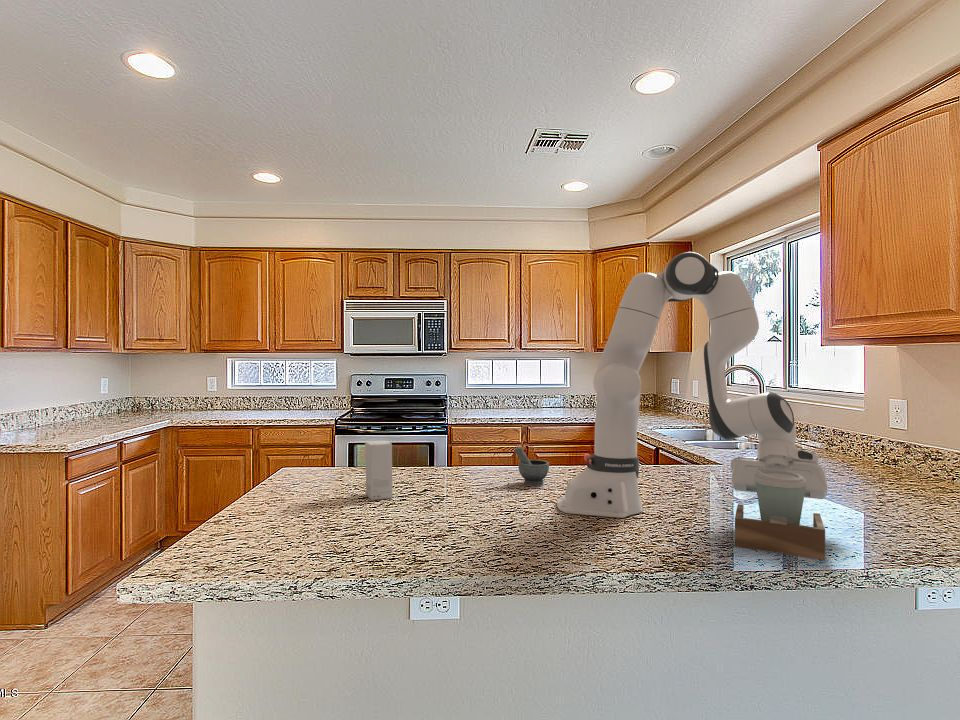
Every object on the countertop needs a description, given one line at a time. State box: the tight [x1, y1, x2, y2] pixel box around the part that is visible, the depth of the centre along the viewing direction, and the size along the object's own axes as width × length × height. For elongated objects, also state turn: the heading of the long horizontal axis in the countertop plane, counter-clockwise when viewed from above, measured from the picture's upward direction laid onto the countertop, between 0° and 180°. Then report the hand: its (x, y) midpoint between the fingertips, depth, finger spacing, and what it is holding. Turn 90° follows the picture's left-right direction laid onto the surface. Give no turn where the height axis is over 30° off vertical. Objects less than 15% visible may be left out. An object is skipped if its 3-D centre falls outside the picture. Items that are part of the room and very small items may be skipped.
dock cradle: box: [734, 503, 826, 561], centre depth 119 cm, size 13×16×7 cm
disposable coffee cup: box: [754, 468, 807, 525], centre depth 122 cm, size 11×11×15 cm
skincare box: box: [364, 440, 394, 501], centre depth 157 cm, size 8×7×16 cm
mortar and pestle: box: [514, 445, 550, 487], centre depth 174 cm, size 11×9×12 cm
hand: (777, 508), depth 127 cm, fingers closed, pressing on disposable coffee cup
